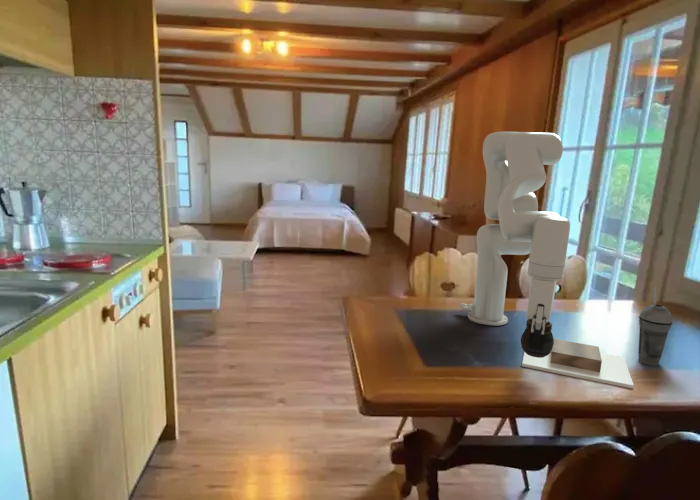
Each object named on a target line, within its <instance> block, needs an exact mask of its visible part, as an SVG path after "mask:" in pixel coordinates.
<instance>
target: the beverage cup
mask: <svg viewBox="0 0 700 500" xmlns="http://www.w3.org/2000/svg"><path fill="white" fill-rule="evenodd" d="M638 318H639V320H638V321H639V336H638V337H639V338H638V361H639V362H640V363H642V364H644V365H649V366H659V364H660V360H662V359H661V358H662V354H663V351H664V348H665V344H666V340H667V337H668V334H669V331H670V330H671V327H672V325H673V317H672V313H671V312H670V310H669V309H668V308H667V307H666V306H663V304H662V305H661V304H657V287H653V303H652V304H649V305H646V306H645V307H644V308H643V309H642V310H641V311H640V313H639V316H638Z"/></svg>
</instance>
